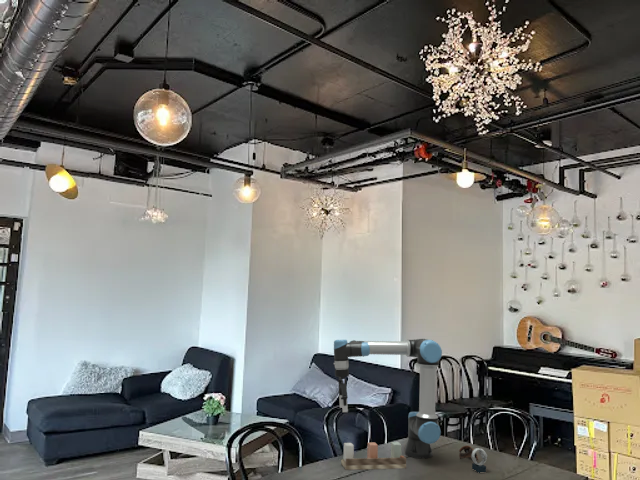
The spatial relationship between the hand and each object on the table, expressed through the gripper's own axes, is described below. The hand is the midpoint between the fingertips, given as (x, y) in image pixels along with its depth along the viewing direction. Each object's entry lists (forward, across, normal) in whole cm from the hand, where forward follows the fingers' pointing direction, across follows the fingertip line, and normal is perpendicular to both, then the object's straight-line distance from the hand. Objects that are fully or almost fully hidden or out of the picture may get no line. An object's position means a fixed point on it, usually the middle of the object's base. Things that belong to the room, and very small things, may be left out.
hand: (343, 409), depth 251 cm
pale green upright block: (+27, -1, +26) cm, 37 cm away
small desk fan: (+33, +8, +68) cm, 75 cm away
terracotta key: (+26, +1, +14) cm, 29 cm away
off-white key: (+25, +3, +1) cm, 25 cm away
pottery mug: (+32, -11, +69) cm, 77 cm away
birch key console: (+28, +3, +14) cm, 31 cm away
